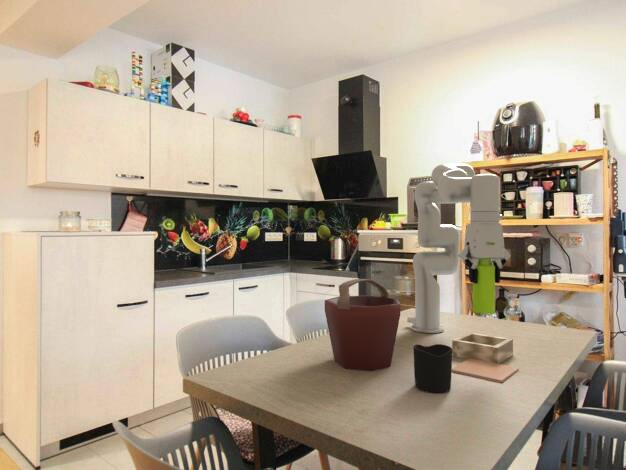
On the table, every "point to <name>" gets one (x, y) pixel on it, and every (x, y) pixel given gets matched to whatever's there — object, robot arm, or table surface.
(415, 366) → the pen holder
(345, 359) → the bucket
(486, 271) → the soap dispenser
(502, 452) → the table surface
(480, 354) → the open box
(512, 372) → the plate
